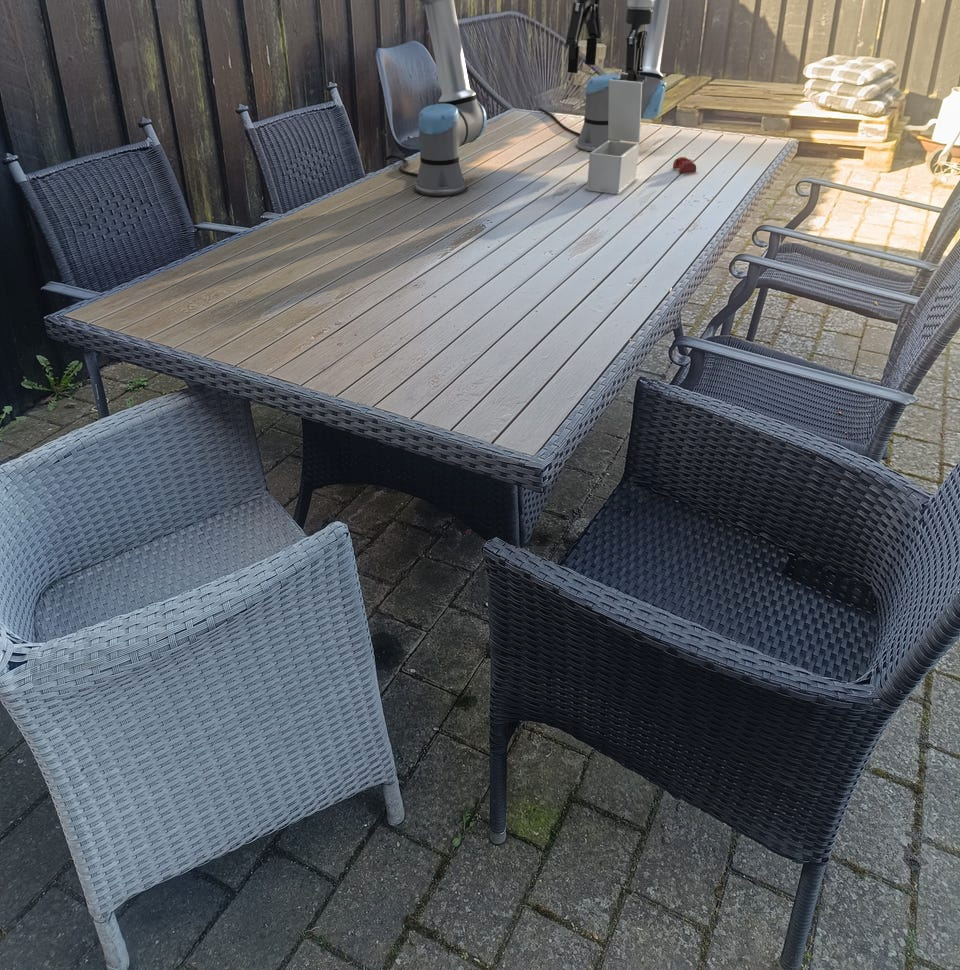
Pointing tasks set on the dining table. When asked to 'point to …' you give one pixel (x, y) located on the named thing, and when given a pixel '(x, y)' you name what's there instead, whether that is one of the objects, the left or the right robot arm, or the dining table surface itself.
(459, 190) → the left robot arm
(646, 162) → the dining table surface
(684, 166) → the dark red rounded lump
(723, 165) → the dining table surface
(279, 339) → the dining table surface
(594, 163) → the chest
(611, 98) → the lid
